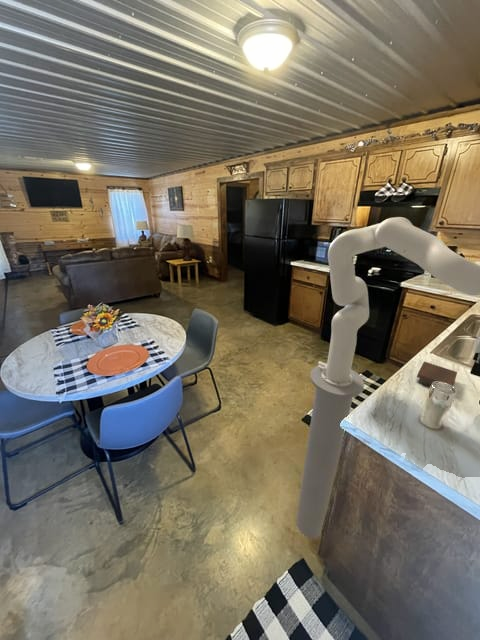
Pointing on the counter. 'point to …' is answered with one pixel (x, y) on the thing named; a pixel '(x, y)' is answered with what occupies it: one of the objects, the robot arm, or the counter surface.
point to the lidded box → (435, 374)
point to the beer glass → (437, 404)
